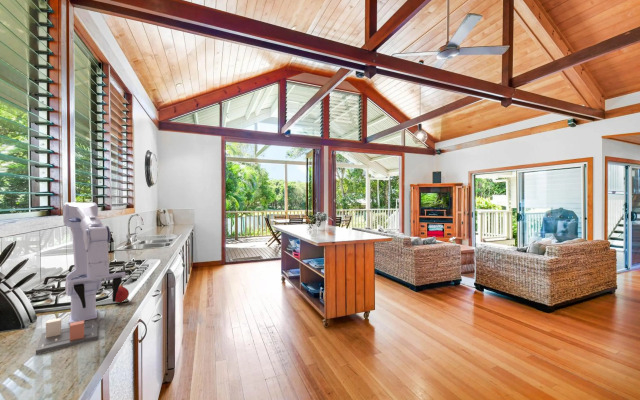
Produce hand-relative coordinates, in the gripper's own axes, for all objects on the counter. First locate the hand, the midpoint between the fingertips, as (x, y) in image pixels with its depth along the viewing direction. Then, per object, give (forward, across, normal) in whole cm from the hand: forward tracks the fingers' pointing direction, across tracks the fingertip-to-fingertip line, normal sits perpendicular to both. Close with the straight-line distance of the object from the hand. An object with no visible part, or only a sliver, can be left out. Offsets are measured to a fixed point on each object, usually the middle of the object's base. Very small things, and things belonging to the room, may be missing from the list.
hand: (99, 304), depth 92 cm
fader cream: (+8, -12, +8) cm, 16 cm away
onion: (+6, +7, +32) cm, 33 cm away
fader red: (+9, -6, +2) cm, 11 cm away
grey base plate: (+10, -8, +6) cm, 14 cm away
